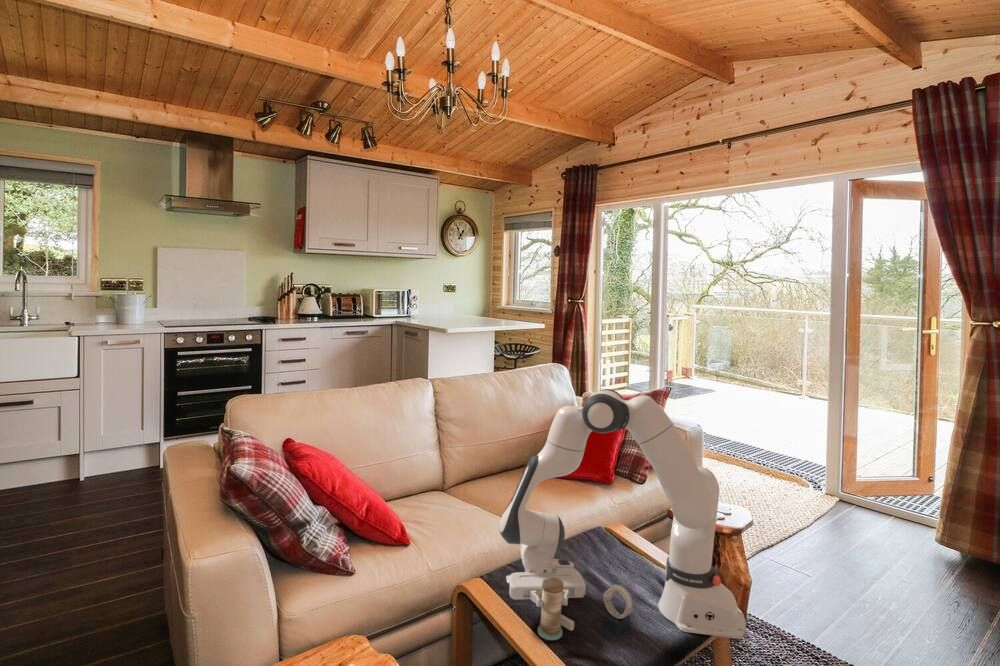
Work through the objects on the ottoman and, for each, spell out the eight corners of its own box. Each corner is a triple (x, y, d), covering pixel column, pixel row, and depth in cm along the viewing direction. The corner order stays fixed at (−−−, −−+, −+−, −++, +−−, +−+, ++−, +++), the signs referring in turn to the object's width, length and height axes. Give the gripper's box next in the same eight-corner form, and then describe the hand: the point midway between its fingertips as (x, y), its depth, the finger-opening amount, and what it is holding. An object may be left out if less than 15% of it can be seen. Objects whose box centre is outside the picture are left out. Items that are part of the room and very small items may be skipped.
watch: (611, 614, 154) (613, 576, 152) (635, 630, 148) (638, 591, 146) (597, 622, 150) (599, 583, 149) (621, 638, 144) (624, 598, 143)
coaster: (565, 627, 147) (565, 626, 147) (559, 643, 141) (559, 641, 141) (541, 621, 149) (541, 620, 149) (534, 636, 143) (534, 635, 143)
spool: (562, 623, 147) (565, 580, 145) (558, 636, 142) (560, 591, 140) (542, 618, 149) (545, 575, 147) (537, 630, 144) (539, 586, 142)
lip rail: (549, 618, 151) (550, 611, 151) (552, 616, 152) (552, 609, 152) (571, 631, 146) (571, 623, 146) (573, 628, 147) (574, 621, 147)
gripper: (505, 563, 155) (512, 593, 142) (578, 561, 158) (592, 591, 144) (504, 585, 156) (511, 616, 143) (577, 583, 159) (590, 613, 145)
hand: (552, 603), depth 143 cm, fingers closed on spool, 5 cm apart
